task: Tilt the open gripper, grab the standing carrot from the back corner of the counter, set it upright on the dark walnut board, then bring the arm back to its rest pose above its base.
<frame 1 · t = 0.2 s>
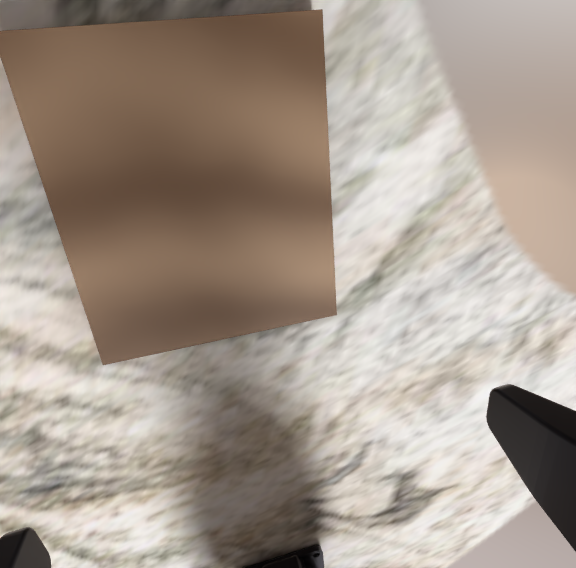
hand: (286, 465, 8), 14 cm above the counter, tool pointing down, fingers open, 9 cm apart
walnut board: (200, 198, 20), on the counter
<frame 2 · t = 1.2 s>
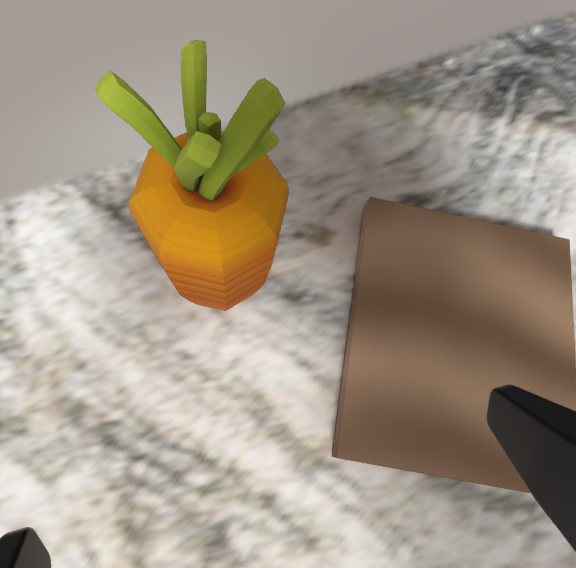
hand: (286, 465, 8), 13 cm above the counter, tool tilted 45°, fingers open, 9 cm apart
carrot: (222, 295, 23), on the counter
walnut board: (455, 340, 24), on the counter
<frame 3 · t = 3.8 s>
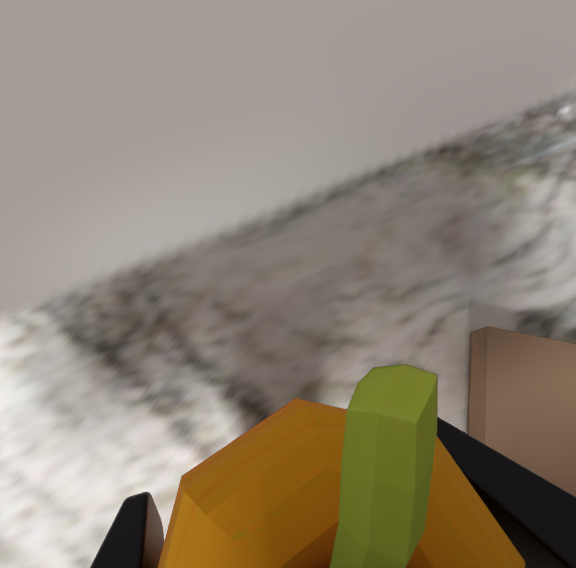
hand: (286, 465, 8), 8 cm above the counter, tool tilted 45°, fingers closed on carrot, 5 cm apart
carrot: (272, 487, 15), on the counter, touching gripper
when the fingers open (10 cm above the counter, at t = 7.7 s): carrot stays where it is, resting on walnut board.
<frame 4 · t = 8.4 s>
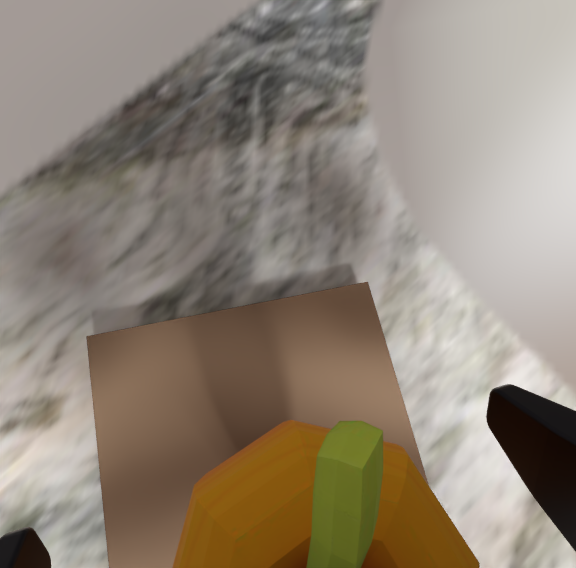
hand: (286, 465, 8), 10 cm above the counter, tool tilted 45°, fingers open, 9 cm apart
carrot: (274, 487, 16), point 1 cm above the counter, touching walnut board
walnut board: (268, 479, 17), on the counter
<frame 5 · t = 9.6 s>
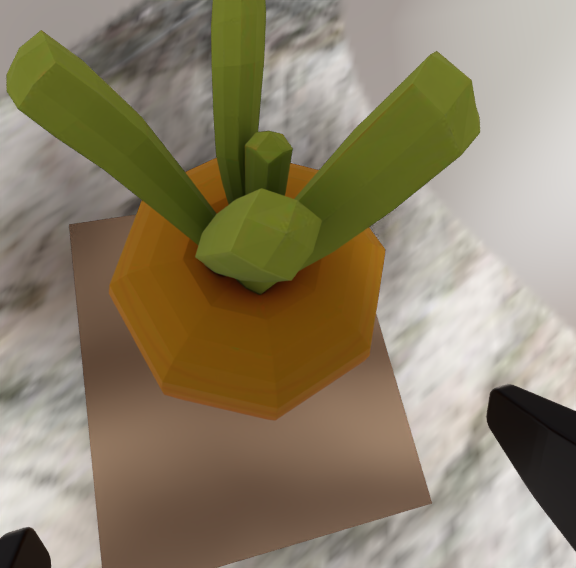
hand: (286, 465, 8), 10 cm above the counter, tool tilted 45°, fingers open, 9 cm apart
carrot: (245, 361, 17), point 1 cm above the counter, touching walnut board
walnut board: (241, 360, 18), on the counter
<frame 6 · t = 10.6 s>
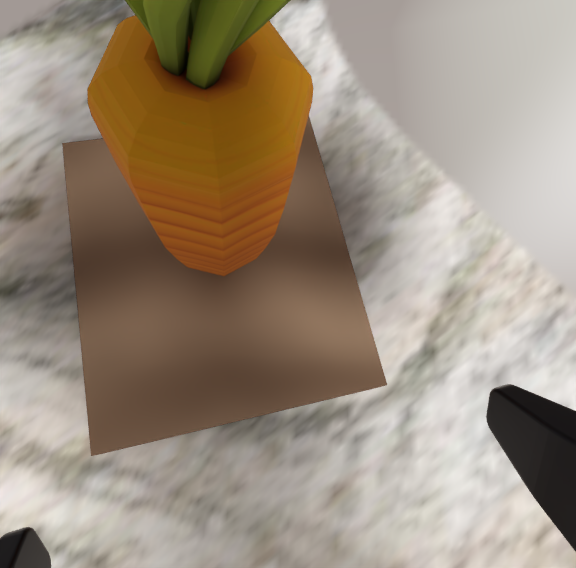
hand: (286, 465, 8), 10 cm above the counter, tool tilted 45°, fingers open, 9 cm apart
carrot: (220, 263, 19), point 1 cm above the counter, touching walnut board
walnut board: (218, 267, 20), on the counter
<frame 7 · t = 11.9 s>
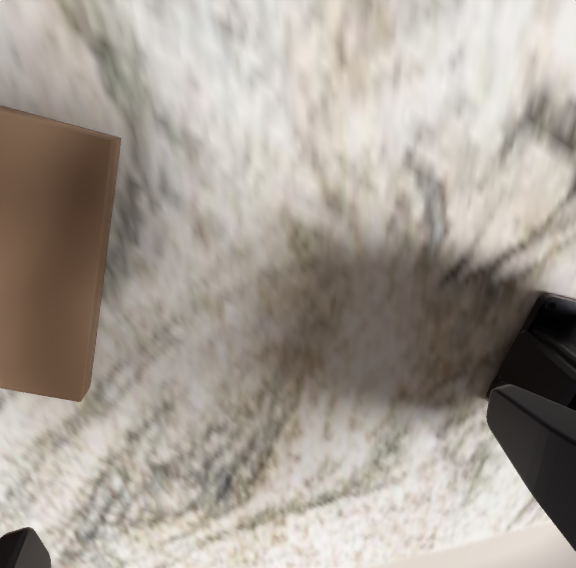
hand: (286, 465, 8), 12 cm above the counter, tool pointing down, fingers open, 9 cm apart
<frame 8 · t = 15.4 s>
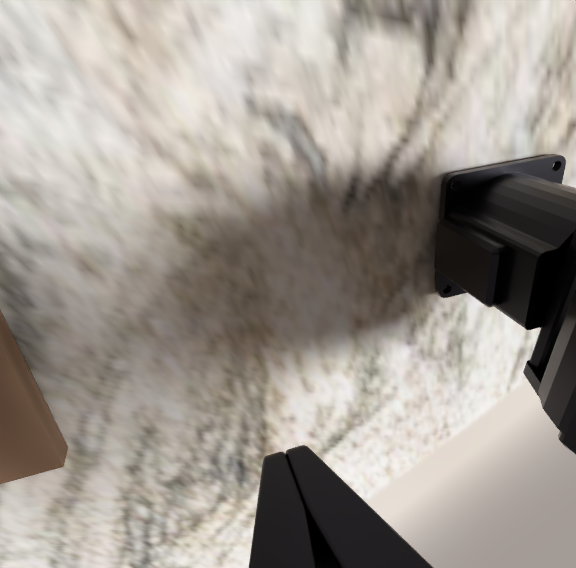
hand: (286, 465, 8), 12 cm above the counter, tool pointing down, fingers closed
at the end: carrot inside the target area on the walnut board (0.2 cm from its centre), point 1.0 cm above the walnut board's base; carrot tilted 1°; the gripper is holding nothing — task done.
